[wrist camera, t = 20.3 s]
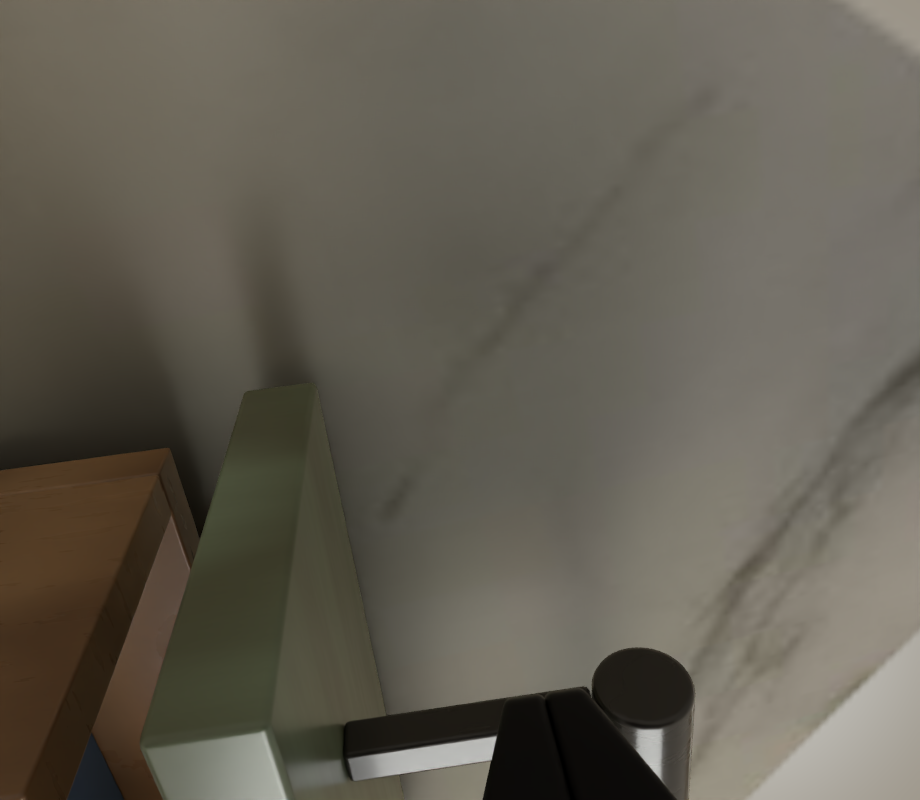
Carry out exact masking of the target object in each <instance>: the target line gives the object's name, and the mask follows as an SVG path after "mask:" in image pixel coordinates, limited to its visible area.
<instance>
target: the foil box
mask: <svg viewBox="0 0 920 800" xmlns="http://www.w3.org/2000/svg"><path fill="white" fill-rule="evenodd" d="M67 800H124V798H123V796H122V794H121V792H120V790H119V788H118V786H117V784H116V782H115V780H114V778H113V776H112V774H111V771H110V769H109V767H108V765H107V763H106V761H105V759H104V757H103V755H102V753H101V751H100V749H99V747H98V745H97V743H96V741H95V739H94V737H93V734H92V733H91V735H90V738H89V741H88V744H87V746H86V749H85V752H84V755H83V757H82V760H81V763H80V765H79V768H78V771H77V774H76V776H75V779H74V782H73V785H72V787H71V790H70V793H69V795H68V798H67Z"/></svg>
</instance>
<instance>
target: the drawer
mask: <svg viewBox="0 0 920 800" xmlns="http://www.w3.org/2000/svg"><path fill="white" fill-rule="evenodd" d="M576 688H581V689H583V690H585V691H586V692H587V693H588V694H589V695H590V696H591V694H590V691H589V690H588V688H587V687H584V686H582V687H576ZM569 689H570V688H569ZM562 690H564V689H562ZM555 691H557V690H555ZM549 692H551V691H549ZM549 692H542V693H535V694H540V695H542V696H543V697H544V699H545V696H546V694H547V693H549ZM529 695H530V694H529ZM522 696H523V695H522ZM515 697H517V696H515ZM508 698H511V697H508ZM508 698H502V699H495V700H488V701H482V702H475V703H468V704H461V705H455V706H448V707H441V708H434V709H428V710H421V711H414V712H408V713H401V714H394V715H387V716H386V711H385V707H384V702H383V697H382V693H381V688H380V683H379V678H378V674H377V669H376V664H375V660H374V655H373V650H372V645H371V641H370V636H369V631H368V627H367V622H366V617H365V612H364V608H363V603H362V598H361V594H360V589H359V584H358V579H357V575H356V570H355V565H354V561H353V556H352V551H351V546H350V542H349V537H348V532H347V528H346V523H345V518H344V513H343V509H342V504H341V499H340V495H339V490H338V485H337V480H336V476H335V471H334V466H333V462H332V457H331V452H330V447H329V443H328V438H327V433H326V429H325V424H324V419H323V414H322V410H321V405H320V400H319V396H318V391H317V387H316V386H315V384H314V383H304V384H297V385H289V386H282V387H274V388H267V389H259V390H252V391H247V392H245V393H244V395H243V398H242V402H241V405H240V408H239V412H238V415H237V418H236V422H235V425H234V428H233V432H232V435H231V438H230V441H229V445H228V448H227V451H226V455H225V458H224V461H223V465H222V468H221V471H220V475H219V478H218V481H217V485H216V488H215V491H214V495H213V498H212V501H211V505H210V508H209V511H208V514H207V518H206V521H205V524H204V528H203V531H202V534H201V538H200V539H199V536H198V533H197V530H196V526H195V523H194V520H193V517H192V514H191V511H190V508H189V505H188V502H187V499H186V496H185V493H184V490H183V487H182V484H181V481H180V478H179V475H178V472H177V468H176V465H175V462H174V459H173V456H172V453H171V450H170V449H169V448H162V449H155V450H147V451H140V452H132V453H125V454H118V455H110V456H103V457H95V458H88V459H81V460H73V461H66V462H58V463H51V464H44V465H36V466H29V467H21V468H14V469H7V470H0V800H67V798H68V795H69V793H70V790H71V787H72V785H73V782H74V779H75V776H76V774H77V771H78V768H79V765H80V763H81V760H82V757H83V755H84V752H85V749H86V746H87V744H88V741H89V738H90V735H91V733H92V734H93V737H94V739H95V741H96V743H97V745H98V747H99V749H100V751H101V753H102V755H103V757H104V759H105V761H106V763H107V765H108V767H109V769H110V771H111V774H112V776H113V778H114V780H115V782H116V784H117V786H118V788H119V790H120V792H121V794H122V796H123V798H124V800H404V796H403V792H402V787H401V782H400V777H399V775H402V774H409V773H415V772H422V771H429V770H435V769H442V768H448V767H455V766H462V765H468V764H475V763H481V762H488V761H491V760H492V755H493V751H494V746H495V742H496V737H497V733H498V728H499V724H500V719H501V715H502V710H503V706H504V703H505V701H506V700H507V699H508ZM592 699H593V700H594V701H595V702H596V704H597V705H598V706H599V707H600V708H601V709H602V711H603V712H604V713H605V714H606V715H607V717H608V718H609V719H610V720H611V721H612V723H613V724H614V725H615V726H616V727H617V728H618V730H619V731H620V732H621V733H622V734H623V736H624V737H625V738H626V739H627V740H628V742H629V743H630V744H631V745H632V746H633V747H634V749H635V750H636V751H637V752H638V753H639V755H640V756H641V757H642V758H643V759H644V760H645V762H646V763H647V764H648V765H649V766H650V768H651V769H652V770H653V771H654V772H655V774H656V775H657V776H658V777H659V778H660V779H661V781H662V782H663V783H664V784H665V785H666V787H667V788H668V789H669V790H670V791H671V793H672V794H673V795H674V796H675V797H676V798H677V800H689V786H690V770H691V755H692V739H693V723H694V707H695V688H694V684H693V682H692V679H691V677H690V676H689V674H688V672H687V671H686V669H685V668H684V667H683V666H682V665H681V664H680V663H679V662H678V661H677V660H675V659H674V658H672V657H671V656H669V655H667V654H665V653H663V652H660V651H657V650H654V649H649V648H627V649H623V650H619V651H617V652H614V653H612V654H611V655H609V656H608V657H606V658H605V659H604V660H603V661H602V662H601V663H600V665H599V666H598V668H597V669H596V671H595V673H594V675H593V679H592Z"/></svg>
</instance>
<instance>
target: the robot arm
mask: <svg viewBox="0 0 920 800" xmlns="http://www.w3.org/2000/svg"><path fill="white" fill-rule="evenodd" d="M483 800H677V798H676V797H675V796H674V795H673V794H672V793H671V791H670V790H669V789H668V788H667V787H666V785H665V784H664V783H663V782H662V781H661V779H660V778H659V777H658V776H657V775H656V774H655V772H654V771H653V770H652V769H651V768H650V766H649V765H648V764H647V763H646V762H645V760H644V759H643V758H642V757H641V756H640V755H639V753H638V752H637V751H636V750H635V749H634V747H633V746H632V745H631V744H630V743H629V742H628V740H627V739H626V738H625V737H624V736H623V734H622V733H621V732H620V731H619V730H618V728H617V727H616V726H615V725H614V724H613V723H612V721H611V720H610V719H609V718H608V717H607V715H606V714H605V713H604V712H603V711H602V709H601V708H600V707H599V706H598V705H597V704H596V702H595V701H594V700H593V699H592V698H591V696H590V695H589V694H588V693H587V692H586V691H585V690H583V689H581V688H570V689H564V690H557V691H551V692H549V693H547V694H546V696H545V699H544V697H543V696H542V695H540V694H530V695H523V696H517V697H511V698H508V699H507V700H506V701H505V703H504V706H503V710H502V715H501V719H500V724H499V728H498V733H497V737H496V742H495V746H494V751H493V755H492V760H491V764H490V769H489V773H488V778H487V782H486V787H485V791H484V796H483Z"/></svg>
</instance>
